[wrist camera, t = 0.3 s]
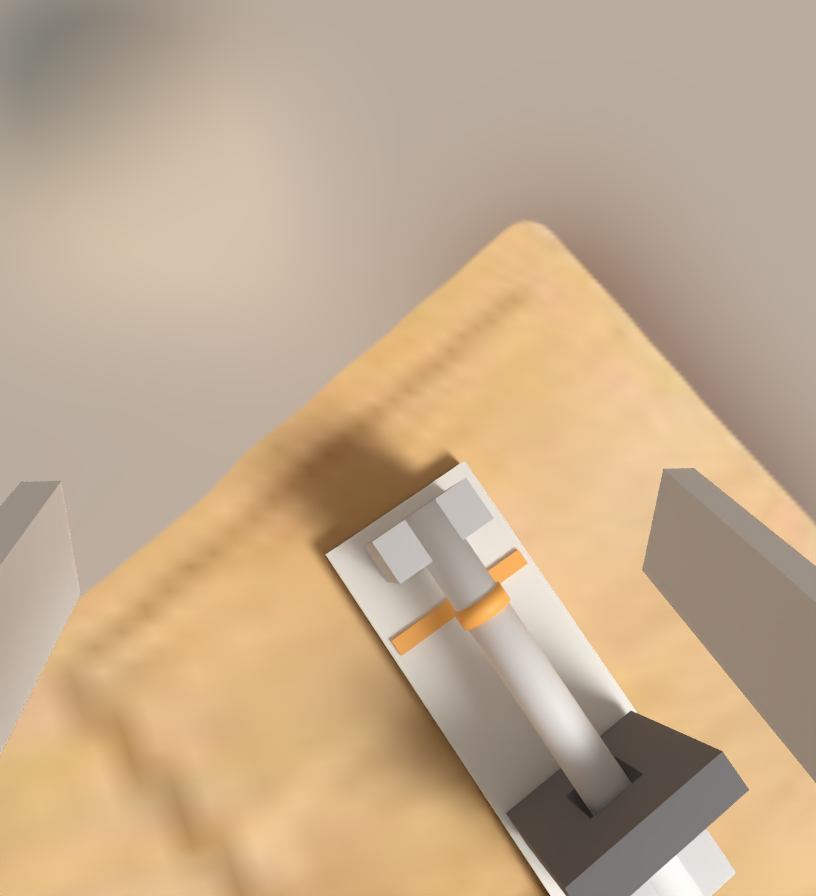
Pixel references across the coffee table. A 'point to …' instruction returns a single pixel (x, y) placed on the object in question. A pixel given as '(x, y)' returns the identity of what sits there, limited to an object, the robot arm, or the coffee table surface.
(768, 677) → the robot arm
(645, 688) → the coffee table surface
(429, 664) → the pipe stand
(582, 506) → the coffee table surface
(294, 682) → the coffee table surface
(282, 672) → the coffee table surface
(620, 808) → the collar
